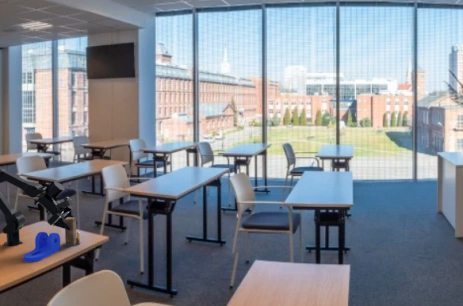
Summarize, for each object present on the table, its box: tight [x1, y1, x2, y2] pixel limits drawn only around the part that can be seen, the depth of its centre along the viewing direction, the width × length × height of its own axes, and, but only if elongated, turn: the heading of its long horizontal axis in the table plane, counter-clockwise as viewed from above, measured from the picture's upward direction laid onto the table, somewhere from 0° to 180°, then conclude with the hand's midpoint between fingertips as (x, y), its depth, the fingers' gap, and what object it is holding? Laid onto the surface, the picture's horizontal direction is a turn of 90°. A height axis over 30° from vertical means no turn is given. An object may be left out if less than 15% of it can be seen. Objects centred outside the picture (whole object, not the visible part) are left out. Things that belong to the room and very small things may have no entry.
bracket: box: [23, 231, 62, 263], centre depth 205 cm, size 18×8×9 cm, turn 167°
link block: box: [64, 216, 77, 244], centre depth 221 cm, size 4×4×12 cm
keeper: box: [62, 231, 82, 247], centre depth 221 cm, size 7×6×6 cm
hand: (73, 226), depth 220 cm, fingers open, 9 cm apart
